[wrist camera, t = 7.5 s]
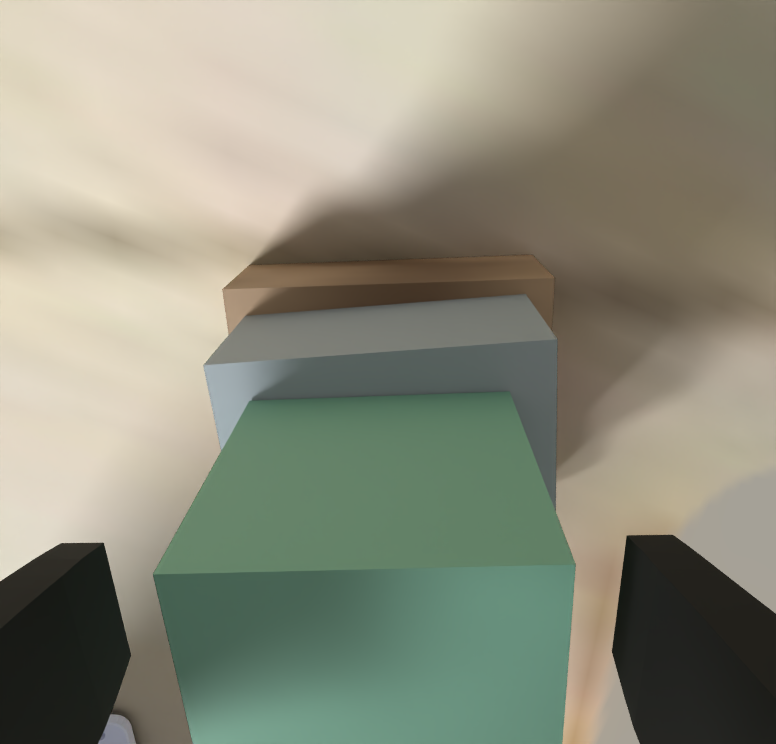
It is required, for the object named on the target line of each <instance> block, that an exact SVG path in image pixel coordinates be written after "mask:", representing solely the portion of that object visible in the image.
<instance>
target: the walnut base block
mask: <svg viewBox="0 0 776 744" xmlns="http://www.w3.org/2000/svg"><path fill="white" fill-rule="evenodd" d="M554 285H555V278H554V277H553V276H552V275H551V274H550V272H549V271H548V270H547V269H546V268H545V267H544V266H543V265H542V264H541V263H540V262H539V261H538V260H537V259H536V258H535V257H534V256H533V255H512V256H484V257H457V258H429V259H402V260H375V261H347V262H320V263H292V264H265V265H249V266H248V267H247V268H246V269H244V270H243V271H242V272H241V273H240V274H239V275H238V276H237V277H236V278H234V279H233V280H232V281H231V282H230V283H229V284H228V285H227V286H226V287H224V288H223V289H222V291H223V298H224V305H225V312H226V319H227V326H228V333H229V334H230V333H231V332H232V331H233V330H234V328H235V327H236V326H237V325H238V324H239V323H240V321H241V320H242V319H243V318H244V317H245V316H249V315H262V314H275V313H288V312H301V311H313V310H326V309H339V308H352V307H365V306H377V305H390V304H403V303H416V302H429V301H441V300H454V299H467V298H480V297H493V296H505V295H518V294H526V295H527V297H528V298H529V299H530V301H531V302H532V304H533V305H534V306H535V308H536V309H537V311H538V312H539V314H540V315H541V316H542V318H543V319H544V321H545V322H546V324H547V325H548V326H549V328H550V329H551V331H552V320H553V302H554Z"/></svg>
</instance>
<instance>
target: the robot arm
mask: <svg viewBox="0 0 776 744" xmlns="http://www.w3.org/2000/svg"><path fill="white" fill-rule="evenodd" d="M612 653H613V657H614V661H615V664H616V668H617V672H618V675H619V679H620V682H621V686H622V689H623V694H624V697H625V700H626V704H627V707H628V710H629V713H630V717H631V720H632V724H633V727H634V730H635V732H636V735H637V737H638V740H639V742H640V744H776V614H775V613H774V612H773V611H771V610H770V609H769V608H768V607H766V606H765V605H764V604H762V603H761V602H760V601H758V600H757V599H756V598H755V597H753V596H752V595H751V594H749V593H748V592H747V591H746V590H744V589H743V588H742V587H740V586H739V585H738V584H737V583H735V582H734V581H733V580H731V579H730V578H729V577H727V576H726V575H725V574H724V573H723V572H721V571H720V570H718V569H717V568H716V567H715V566H714V565H712V564H711V563H710V562H708V561H707V560H706V559H705V558H703V557H702V556H701V555H699V554H698V553H697V552H695V551H694V550H693V549H691V548H690V547H689V546H687V545H686V544H685V543H683V542H682V541H681V540H679V539H678V538H676V537H675V536H674V535H629V536H627V539H626V546H625V554H624V562H623V570H622V578H621V586H620V593H619V601H618V609H617V617H616V625H615V633H614V640H613V648H612ZM130 657H131V653H130V649H129V645H128V641H127V637H126V633H125V629H124V624H123V620H122V616H121V612H120V608H119V604H118V600H117V596H116V591H115V587H114V583H113V579H112V575H111V571H110V567H109V563H108V558H107V554H106V550H105V546H104V543H61V544H59V545H57V546H56V547H54V548H52V549H50V550H49V551H47V552H45V553H44V554H42V555H40V556H39V557H37V558H36V559H34V560H32V561H31V562H29V563H28V564H26V565H25V566H23V567H21V568H20V569H18V570H17V571H15V572H14V573H12V574H11V575H9V576H8V577H6V578H5V579H3V580H2V581H0V744H136V742H135V738H134V734H133V730H132V726H131V724H130V722H129V720H128V719H126V718H125V717H123V716H121V715H116V714H111V711H112V709H113V706H114V703H115V701H116V698H117V695H118V692H119V689H120V686H121V683H122V680H123V678H124V675H125V672H126V669H127V666H128V663H129V660H130Z"/></svg>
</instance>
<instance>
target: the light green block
mask: <svg viewBox="0 0 776 744" xmlns="http://www.w3.org/2000/svg"><path fill="white" fill-rule="evenodd" d="M575 566H576V564H575V561H574V559H573V556H572V554H571V551H570V548H569V546H568V543H567V541H566V538H565V535H564V533H563V530H562V527H561V525H560V522H559V520H558V517H557V514H556V512H555V509H554V506H553V504H552V501H551V499H550V496H549V493H548V491H547V488H546V486H545V483H544V480H543V478H542V475H541V472H540V470H539V467H538V465H537V462H536V459H535V457H534V454H533V451H532V449H531V446H530V444H529V441H528V438H527V436H526V433H525V431H524V428H523V425H522V423H521V420H520V417H519V415H518V412H517V410H516V407H515V404H514V402H513V399H512V396H511V394H510V391H507V392H479V393H451V394H422V395H394V396H366V397H338V398H310V399H281V400H253V401H249V402H248V404H247V406H246V408H245V410H244V411H243V413H242V415H241V417H240V419H239V420H238V422H237V424H236V426H235V428H234V429H233V431H232V433H231V435H230V437H229V438H228V440H227V442H226V444H225V446H224V447H223V449H222V451H221V453H220V455H219V456H218V458H217V460H216V462H215V464H214V465H213V467H212V469H211V471H210V473H209V474H208V476H207V478H206V480H205V482H204V483H203V485H202V487H201V489H200V491H199V492H198V494H197V496H196V498H195V500H194V501H193V503H192V505H191V507H190V509H189V510H188V512H187V514H186V516H185V518H184V519H183V521H182V523H181V525H180V527H179V528H178V530H177V532H176V534H175V536H174V537H173V539H172V541H171V543H170V545H169V546H168V548H167V550H166V552H165V554H164V555H163V557H162V559H161V561H160V563H159V564H158V566H157V568H156V570H155V572H154V573H153V577H154V581H155V585H156V589H157V594H158V598H159V602H160V607H161V611H162V615H163V619H164V624H165V628H166V632H167V636H168V641H169V645H170V649H171V653H172V658H173V662H174V666H175V670H176V675H177V679H178V683H179V687H180V692H181V696H182V700H183V704H184V709H185V713H186V717H187V721H188V726H189V730H190V734H191V738H192V743H193V744H562V740H563V727H564V713H565V700H566V687H567V673H568V660H569V647H570V633H571V620H572V606H573V593H574V580H575Z"/></svg>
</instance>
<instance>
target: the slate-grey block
mask: <svg viewBox="0 0 776 744" xmlns="http://www.w3.org/2000/svg"><path fill="white" fill-rule="evenodd" d="M203 366H204V371H205V376H206V380H207V385H208V390H209V395H210V399H211V404H212V409H213V414H214V419H215V423H216V428H217V433H218V438H219V443H220V447H221V451H222V449H223V447H224V446H225V444H226V442H227V440H228V438H229V437H230V435H231V433H232V431H233V429H234V428H235V426H236V424H237V422H238V420H239V419H240V417H241V415H242V413H243V411H244V410H245V408H246V406H247V404H248V402H249V401H253V400H281V399H310V398H338V397H366V396H394V395H422V394H451V393H479V392H507V391H510V394H511V396H512V399H513V402H514V404H515V407H516V410H517V412H518V415H519V417H520V420H521V423H522V425H523V428H524V431H525V433H526V436H527V438H528V441H529V444H530V446H531V449H532V451H533V454H534V457H535V459H536V462H537V465H538V467H539V470H540V472H541V475H542V478H543V480H544V483H545V486H546V488H547V491H548V493H549V496H550V499H551V501H552V504H553V506H554V509H555V512H556V430H557V338H556V336H555V335H554V333H553V332H552V331H551V329H550V328H549V326H548V325H547V324H546V322H545V321H544V319H543V318H542V316H541V315H540V314H539V312H538V311H537V309H536V308H535V306H534V305H533V304H532V302H531V301H530V299H529V298H528V297H527V295H526V294H518V295H505V296H493V297H480V298H467V299H454V300H441V301H429V302H416V303H403V304H390V305H377V306H365V307H352V308H339V309H326V310H313V311H301V312H288V313H275V314H262V315H249V316H245V317H244V318H243V319H242V320H241V321H240V323H239V324H238V325H237V326H236V327H235V328H234V330H233V331H232V332H231V333H230V334H229V336H228V337H227V338H226V339H225V340H224V341H223V343H222V344H221V345H220V346H219V347H218V349H217V350H216V351H215V352H214V353H213V354H212V356H211V357H210V358H209V359H208V360H207V362H206V363H205V364H204V365H203Z"/></svg>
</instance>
